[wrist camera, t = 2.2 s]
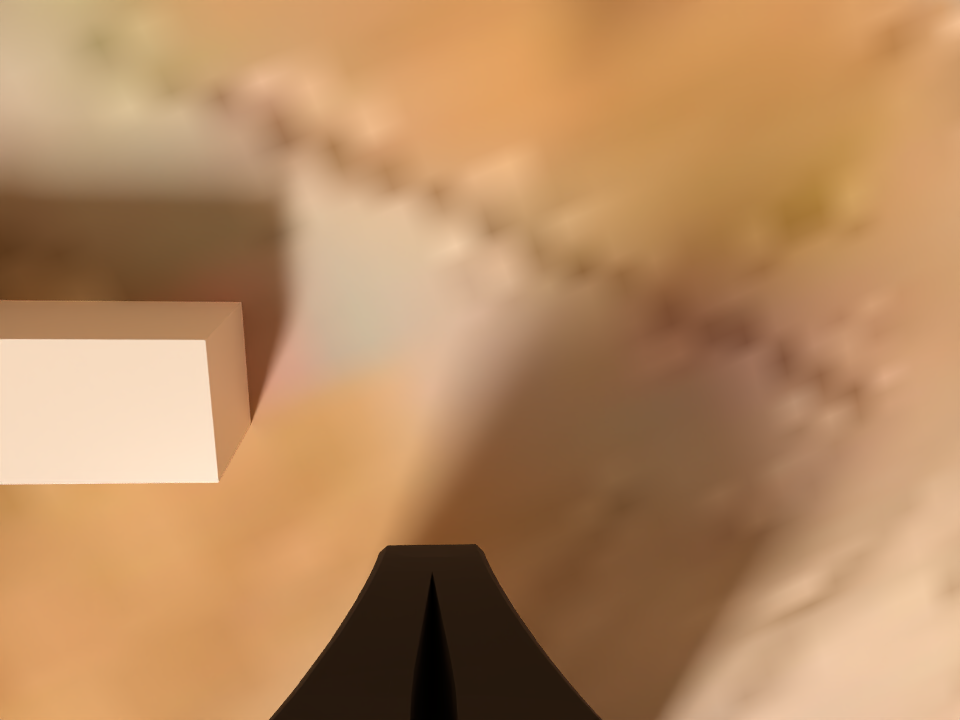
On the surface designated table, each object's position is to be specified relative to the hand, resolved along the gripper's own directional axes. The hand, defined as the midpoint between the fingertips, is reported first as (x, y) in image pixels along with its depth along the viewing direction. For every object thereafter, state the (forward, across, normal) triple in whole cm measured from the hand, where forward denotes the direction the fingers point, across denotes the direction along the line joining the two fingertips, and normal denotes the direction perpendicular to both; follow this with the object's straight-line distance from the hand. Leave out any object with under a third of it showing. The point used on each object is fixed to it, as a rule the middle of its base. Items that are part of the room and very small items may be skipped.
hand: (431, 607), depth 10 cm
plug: (+10, +9, 0) cm, 14 cm away
